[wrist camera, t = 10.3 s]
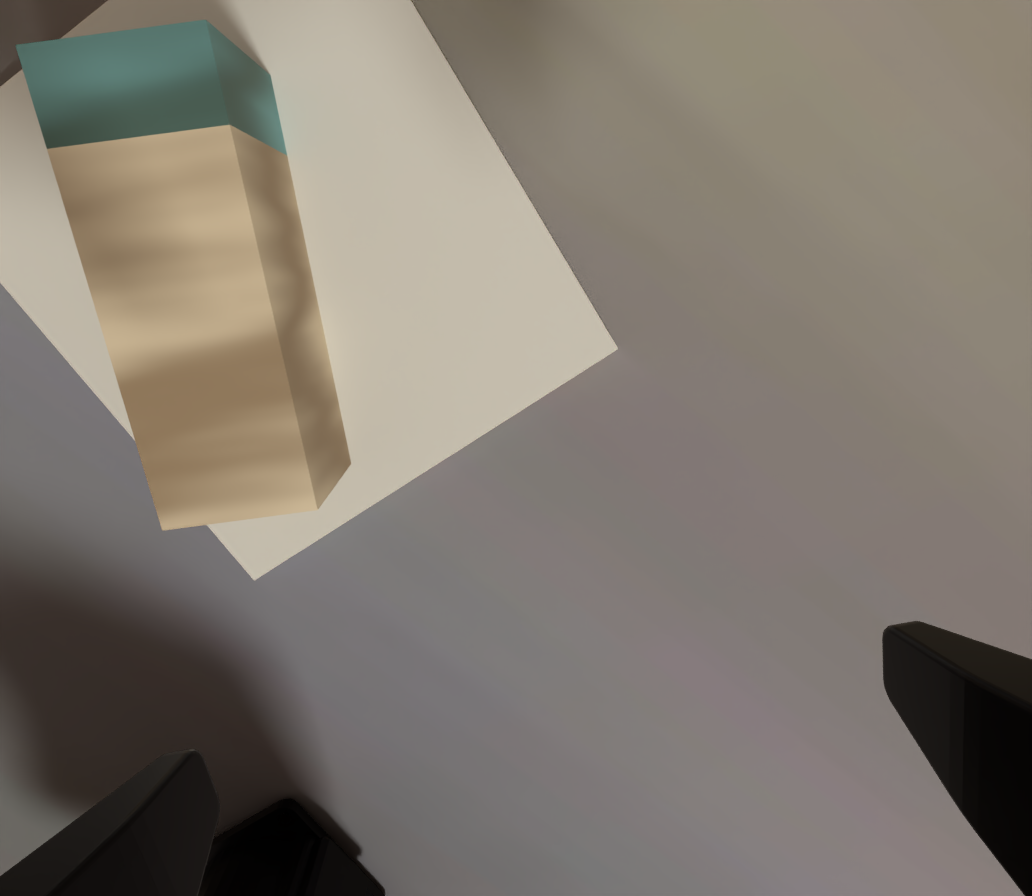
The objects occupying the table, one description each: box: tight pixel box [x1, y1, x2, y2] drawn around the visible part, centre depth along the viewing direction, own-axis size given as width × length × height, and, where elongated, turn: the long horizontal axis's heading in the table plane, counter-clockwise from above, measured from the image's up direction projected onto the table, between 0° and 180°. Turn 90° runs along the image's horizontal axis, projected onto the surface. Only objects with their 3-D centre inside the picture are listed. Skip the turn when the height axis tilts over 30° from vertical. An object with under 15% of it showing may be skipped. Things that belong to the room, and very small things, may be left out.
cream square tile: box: [0, 0, 618, 580], centre depth 19 cm, size 14×15×1 cm
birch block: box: [15, 20, 351, 531], centre depth 17 cm, size 4×4×11 cm
